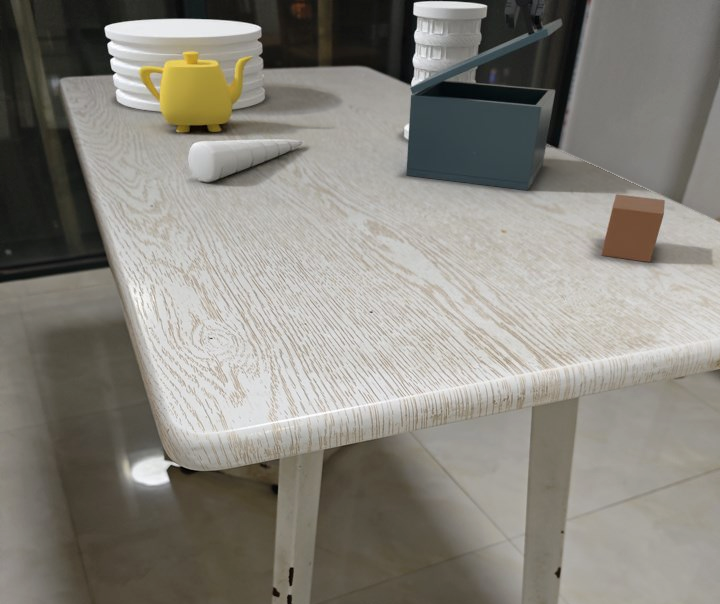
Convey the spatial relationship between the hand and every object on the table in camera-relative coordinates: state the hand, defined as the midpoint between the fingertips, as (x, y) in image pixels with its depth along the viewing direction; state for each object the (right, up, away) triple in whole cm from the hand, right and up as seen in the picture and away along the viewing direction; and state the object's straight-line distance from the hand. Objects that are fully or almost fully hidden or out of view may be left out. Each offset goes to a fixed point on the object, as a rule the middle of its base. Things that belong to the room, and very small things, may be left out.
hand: (521, 23), depth 86 cm
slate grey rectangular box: (-3, -12, +14) cm, 19 cm away
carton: (+9, -31, -10) cm, 34 cm away
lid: (-3, -1, +5) cm, 6 cm away
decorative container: (-7, 0, +29) cm, 30 cm away
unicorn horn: (-35, -11, +14) cm, 40 cm away
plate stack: (-52, +18, +50) cm, 75 cm away
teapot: (-46, +3, +31) cm, 56 cm away
